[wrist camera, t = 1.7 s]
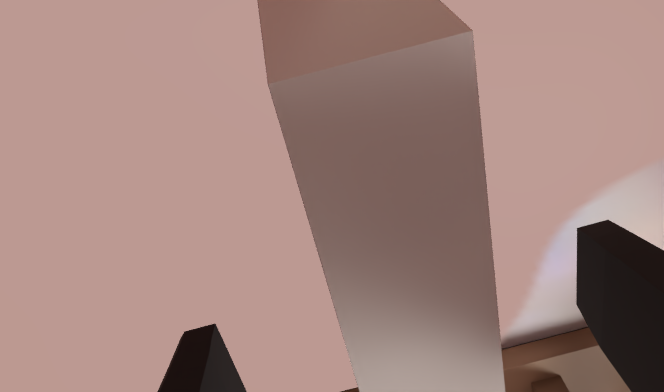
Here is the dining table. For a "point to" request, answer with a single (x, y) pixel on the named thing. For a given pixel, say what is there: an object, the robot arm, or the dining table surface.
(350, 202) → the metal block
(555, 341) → the rack
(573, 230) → the dining table surface
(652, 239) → the dining table surface
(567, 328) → the dining table surface
